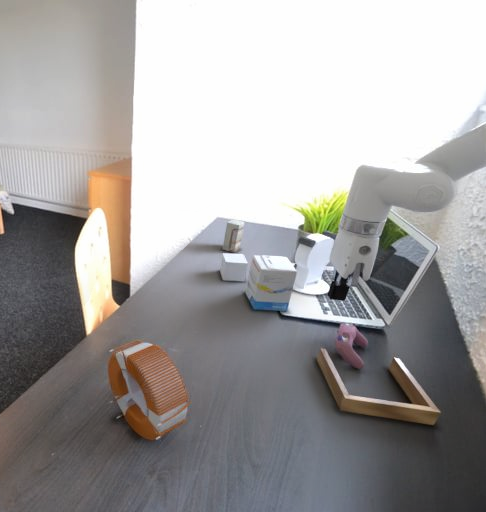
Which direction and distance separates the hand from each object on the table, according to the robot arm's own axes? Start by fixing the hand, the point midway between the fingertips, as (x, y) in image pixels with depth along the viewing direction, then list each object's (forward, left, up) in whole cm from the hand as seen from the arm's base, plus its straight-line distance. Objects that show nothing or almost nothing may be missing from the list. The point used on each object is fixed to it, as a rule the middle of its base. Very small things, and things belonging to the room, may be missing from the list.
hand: (335, 298), depth 85 cm
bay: (0, +21, -7) cm, 22 cm away
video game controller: (0, +11, -7) cm, 13 cm away
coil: (+41, +38, -7) cm, 56 cm away
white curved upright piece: (0, -19, -7) cm, 20 cm away
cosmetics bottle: (+18, -40, -7) cm, 44 cm away
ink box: (+13, -7, -7) cm, 16 cm away
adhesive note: (+20, -20, -7) cm, 29 cm away
